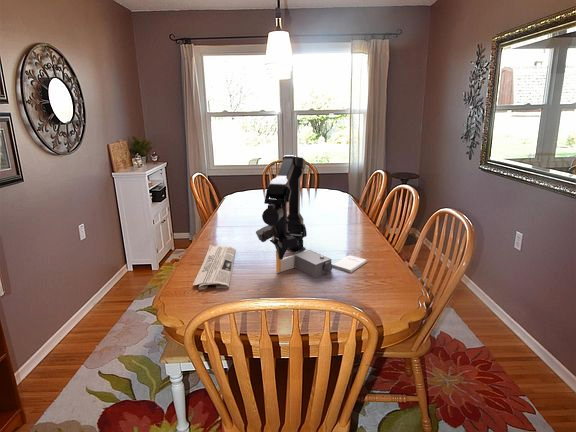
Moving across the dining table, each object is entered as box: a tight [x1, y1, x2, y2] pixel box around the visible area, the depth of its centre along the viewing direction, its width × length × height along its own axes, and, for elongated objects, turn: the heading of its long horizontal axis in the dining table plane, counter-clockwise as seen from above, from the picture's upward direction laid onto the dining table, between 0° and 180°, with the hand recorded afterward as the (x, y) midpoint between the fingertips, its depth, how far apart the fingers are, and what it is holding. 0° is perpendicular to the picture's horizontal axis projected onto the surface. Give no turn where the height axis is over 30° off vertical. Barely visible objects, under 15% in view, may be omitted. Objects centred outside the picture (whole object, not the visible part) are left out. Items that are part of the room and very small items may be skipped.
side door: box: [275, 250, 296, 273], centre depth 141 cm, size 8×1×8 cm, turn 126°
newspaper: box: [192, 244, 236, 291], centre depth 145 cm, size 35×12×4 cm, turn 4°
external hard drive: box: [332, 254, 368, 273], centre depth 146 cm, size 2×8×12 cm
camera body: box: [294, 249, 333, 278], centre depth 142 cm, size 14×8×6 cm, turn 38°
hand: (281, 259), depth 137 cm, fingers closed
